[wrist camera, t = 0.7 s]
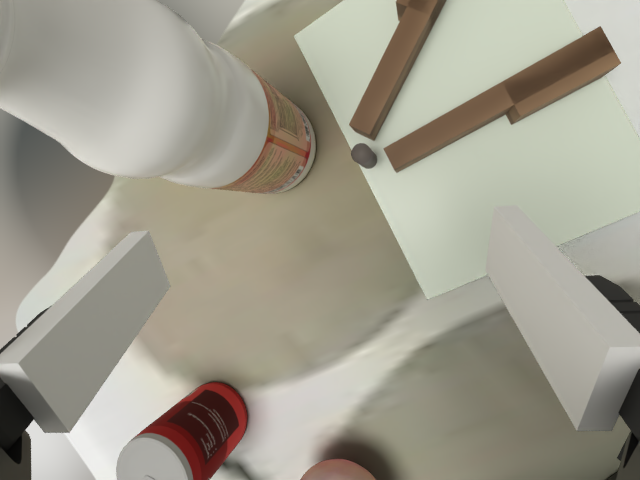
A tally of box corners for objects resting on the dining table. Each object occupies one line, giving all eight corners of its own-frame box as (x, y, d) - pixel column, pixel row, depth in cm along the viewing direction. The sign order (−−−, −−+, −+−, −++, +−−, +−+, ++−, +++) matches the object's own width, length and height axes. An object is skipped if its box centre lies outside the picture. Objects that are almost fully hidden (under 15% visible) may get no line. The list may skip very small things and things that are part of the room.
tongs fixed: (601, 78, 28) (631, 55, 24) (376, 195, 34) (370, 193, 30) (576, 32, 29) (602, 1, 24) (357, 156, 34) (347, 149, 30)
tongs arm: (472, -51, 30) (478, -79, 27) (374, 141, 33) (369, 134, 30) (439, -63, 30) (440, -91, 28) (345, 127, 34) (338, 119, 31)
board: (664, 198, 29) (672, 198, 28) (427, 297, 34) (427, 300, 33) (499, -103, 30) (501, -113, 29) (297, 40, 36) (293, 36, 35)
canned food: (190, 437, 43) (114, 511, 33) (191, 373, 42) (114, 428, 32) (248, 453, 41) (188, 537, 31) (251, 386, 40) (190, 449, 30)
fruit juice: (299, 208, 37) (-25, 206, 10) (222, 176, 39) (-213, 105, 12) (332, 117, 35) (47, -165, 9) (250, 89, 38) (-185, -209, 11)
